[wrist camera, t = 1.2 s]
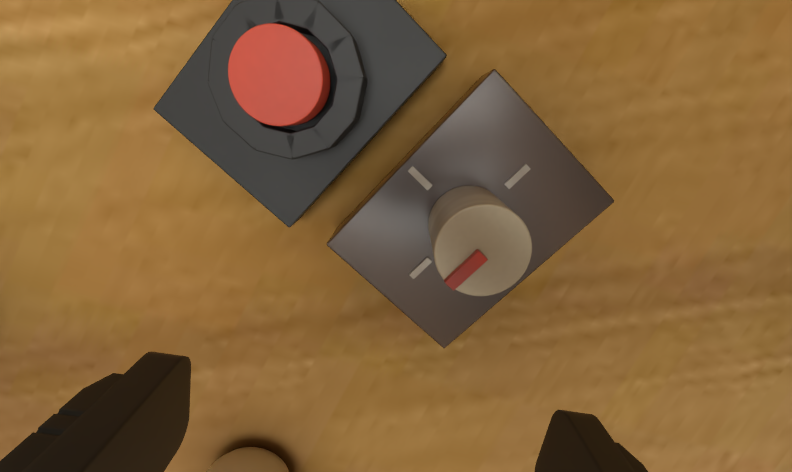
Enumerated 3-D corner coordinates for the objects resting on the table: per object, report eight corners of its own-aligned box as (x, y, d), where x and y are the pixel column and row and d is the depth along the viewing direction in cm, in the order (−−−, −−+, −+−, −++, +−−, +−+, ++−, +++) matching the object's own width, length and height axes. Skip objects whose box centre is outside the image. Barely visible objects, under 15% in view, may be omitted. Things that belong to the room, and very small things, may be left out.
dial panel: (482, 75, 21) (495, 67, 18) (589, 190, 23) (617, 201, 20) (335, 229, 24) (325, 245, 21) (439, 323, 25) (444, 350, 22)
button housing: (314, -76, 19) (292, -124, 16) (443, 61, 21) (451, 49, 17) (176, 109, 22) (128, 108, 18) (299, 218, 24) (279, 237, 20)
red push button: (280, 11, 17) (267, -1, 16) (348, 78, 18) (342, 74, 16) (226, 81, 18) (208, 78, 16) (293, 143, 19) (282, 146, 17)
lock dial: (468, 168, 20) (487, 184, 15) (522, 223, 20) (556, 253, 16) (412, 224, 20) (413, 255, 16) (465, 274, 21) (481, 318, 17)
